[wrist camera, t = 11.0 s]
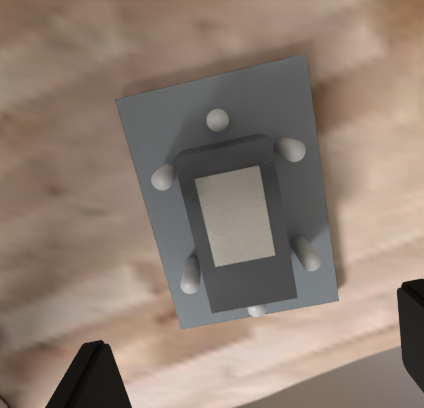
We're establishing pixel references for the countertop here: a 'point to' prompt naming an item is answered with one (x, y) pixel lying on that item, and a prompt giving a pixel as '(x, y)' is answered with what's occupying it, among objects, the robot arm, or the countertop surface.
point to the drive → (237, 222)
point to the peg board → (222, 131)
